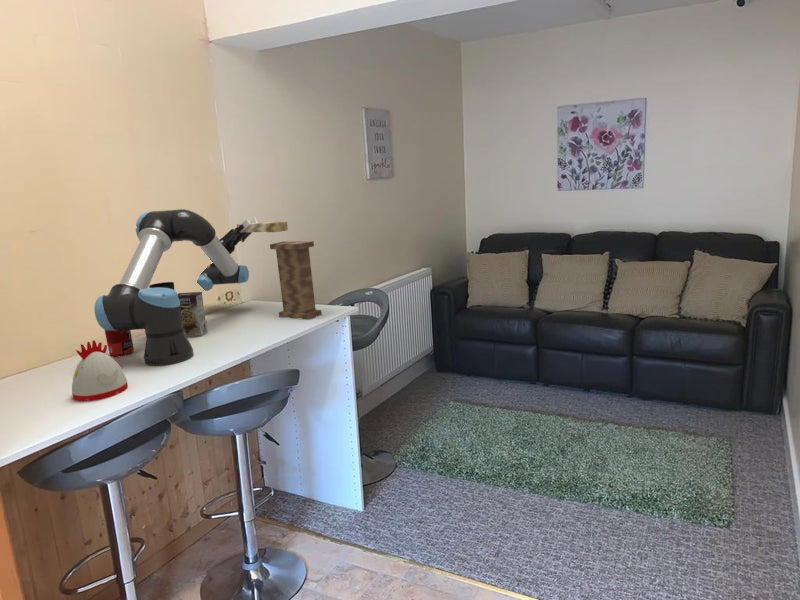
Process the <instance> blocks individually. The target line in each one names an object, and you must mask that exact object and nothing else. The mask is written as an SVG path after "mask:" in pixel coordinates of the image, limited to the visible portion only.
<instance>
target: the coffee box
mask: <svg viewBox="0 0 800 600" xmlns="http://www.w3.org/2000/svg"><path fill="white" fill-rule="evenodd" d="M177 294H178V297H179V301H180V308H181V314H182V321H183V328H184V333H185V335H186V337H187V338H195V337H196V338H197V337H198V336H201V337H203V336H204V335H206V334H207V333H208V328H207V327H208V325H207V320H206V313H205V307H204V306H205V305H204V299H203V298H204V297H203V292H202V291H195V292H194V291H193V292H179V293H177ZM206 332H207V333H206ZM205 333H206V334H205ZM202 335H203V336H202Z"/></svg>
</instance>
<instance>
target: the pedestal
mask: <svg viewBox="0 0 800 600" xmlns="http://www.w3.org/2000/svg"><path fill="white" fill-rule="evenodd" d="M314 242H315V241H312V240H311V241H310V240H309V241H308V240H307V241H302V240H299V241H297V240H296V241H295V240H294V241H280V242H275V243H270V244H269V248H270V250H275V254H276V260H277V269H278V277H279V287H280V294H281V301H282V308H283V310H281V311H279V312H278V317H279V318H285V317H290V318H289V319H297V318H302V319H301V320H308V319H309V320H311V319H314V318H316V316H317V317H319V316H322V309H316V308H317V307H316V299H315V292H314V283H313V274H312V273H313V272H312V267H311V266H312V265H311V256H310V248H314V247H315V243H314ZM313 317H314V318H313Z"/></svg>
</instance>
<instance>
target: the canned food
mask: <svg viewBox="0 0 800 600" xmlns="http://www.w3.org/2000/svg"><path fill="white" fill-rule="evenodd" d="M131 331H132V330H122V331H107V330H104V334H105V340H106V345H107V349H108V353H109V354H108V355H109V356H110V357H112V356H113V357H112V358H117V357H118V356H120V357H125V355H126V356H129V355H131V354H133V353H134V352H135V351H134V349H135V348H134V344H133V338H132V332H131ZM128 354H129V355H128ZM118 358H119V357H118Z"/></svg>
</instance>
